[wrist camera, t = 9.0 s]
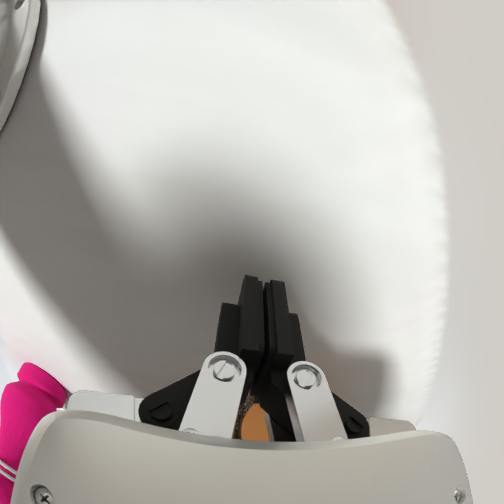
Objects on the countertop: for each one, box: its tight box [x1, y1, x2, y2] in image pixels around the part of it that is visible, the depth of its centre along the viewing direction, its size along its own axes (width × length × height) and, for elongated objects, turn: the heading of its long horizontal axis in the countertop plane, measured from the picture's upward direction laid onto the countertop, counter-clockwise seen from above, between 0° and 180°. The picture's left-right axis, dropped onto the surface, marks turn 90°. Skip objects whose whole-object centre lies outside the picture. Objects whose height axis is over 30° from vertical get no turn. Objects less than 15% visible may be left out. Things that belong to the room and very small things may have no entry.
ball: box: [241, 403, 269, 441], centre depth 16 cm, size 6×6×6 cm
